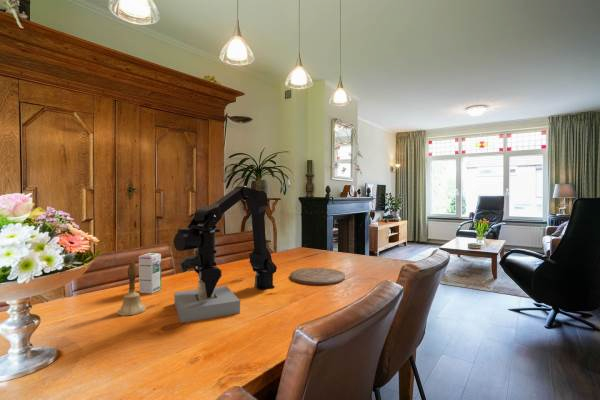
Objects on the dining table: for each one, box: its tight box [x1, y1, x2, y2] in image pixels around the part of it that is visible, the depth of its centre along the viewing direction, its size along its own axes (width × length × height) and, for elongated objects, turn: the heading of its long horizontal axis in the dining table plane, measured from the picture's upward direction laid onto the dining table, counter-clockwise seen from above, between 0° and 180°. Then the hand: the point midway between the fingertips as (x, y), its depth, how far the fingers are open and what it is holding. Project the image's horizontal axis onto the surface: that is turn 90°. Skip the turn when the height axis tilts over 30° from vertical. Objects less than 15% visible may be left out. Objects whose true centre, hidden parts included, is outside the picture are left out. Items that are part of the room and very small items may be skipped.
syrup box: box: [138, 252, 163, 294], centre depth 122 cm, size 6×6×14 cm
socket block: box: [173, 285, 241, 324], centre depth 105 cm, size 18×18×4 cm
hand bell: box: [116, 261, 147, 317], centre depth 102 cm, size 8×8×16 cm
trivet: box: [289, 267, 346, 286], centre depth 144 cm, size 25×25×2 cm
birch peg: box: [197, 279, 214, 301], centre depth 105 cm, size 4×4×9 cm
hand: (206, 293), depth 105 cm, fingers open, 9 cm apart
